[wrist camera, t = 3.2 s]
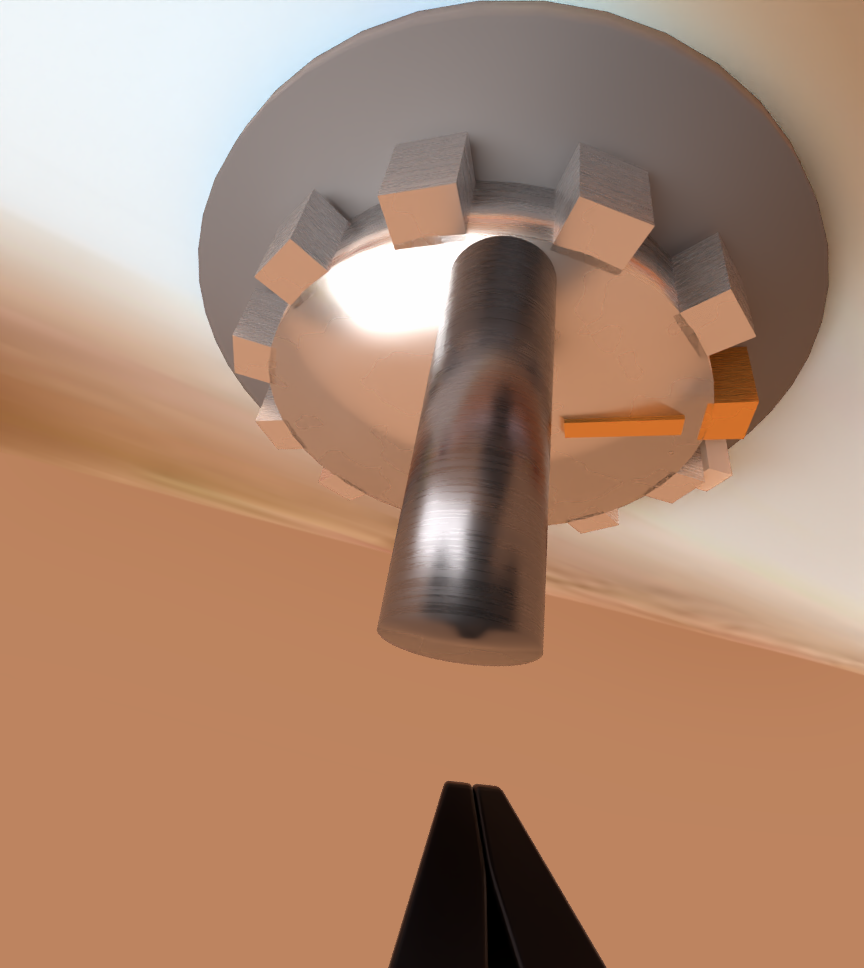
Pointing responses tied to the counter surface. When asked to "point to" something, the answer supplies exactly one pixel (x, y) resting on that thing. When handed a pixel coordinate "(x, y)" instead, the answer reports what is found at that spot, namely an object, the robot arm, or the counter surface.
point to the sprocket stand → (534, 155)
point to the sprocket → (494, 374)
